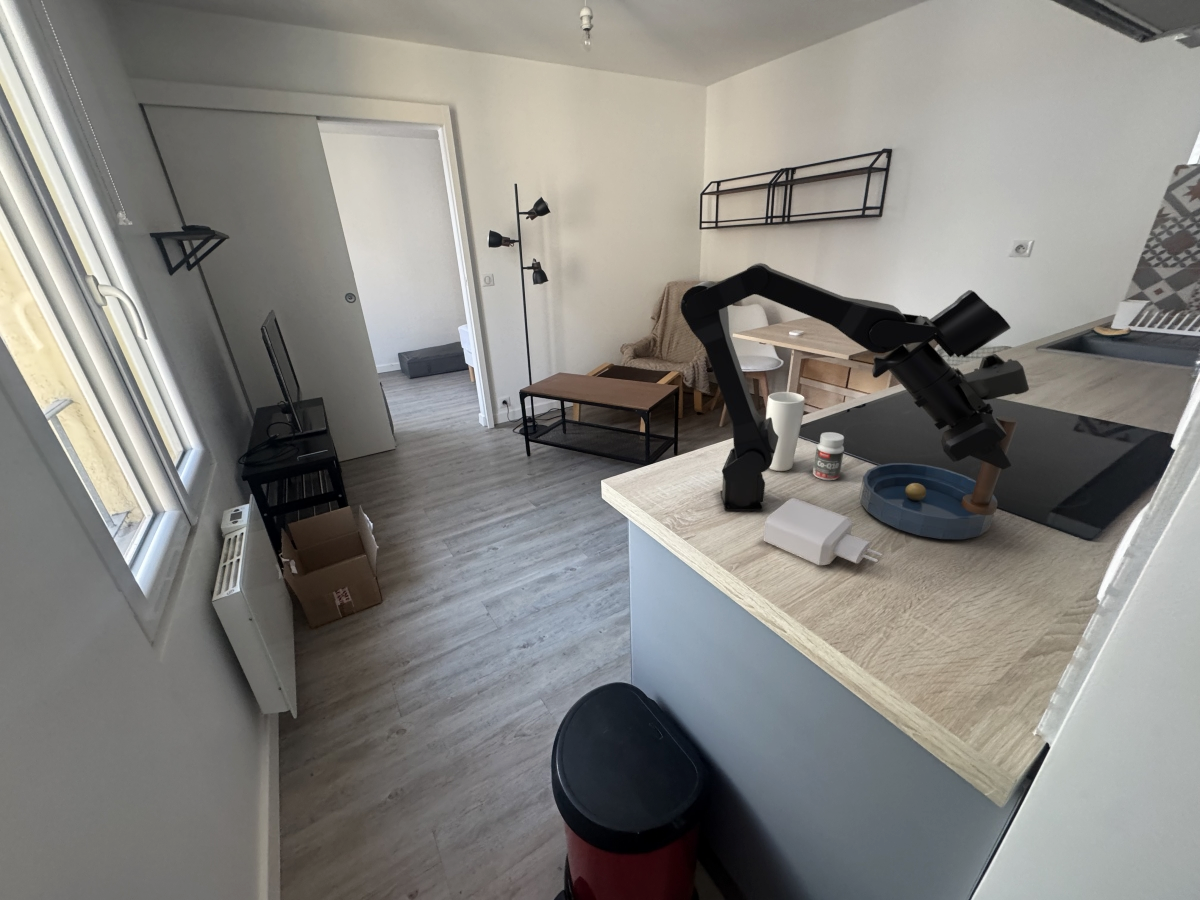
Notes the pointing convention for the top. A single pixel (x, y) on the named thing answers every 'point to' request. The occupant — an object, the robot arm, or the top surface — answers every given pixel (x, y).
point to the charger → (815, 534)
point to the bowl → (922, 501)
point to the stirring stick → (989, 477)
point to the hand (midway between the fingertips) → (1005, 463)
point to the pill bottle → (829, 456)
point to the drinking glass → (785, 426)
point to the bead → (915, 491)
